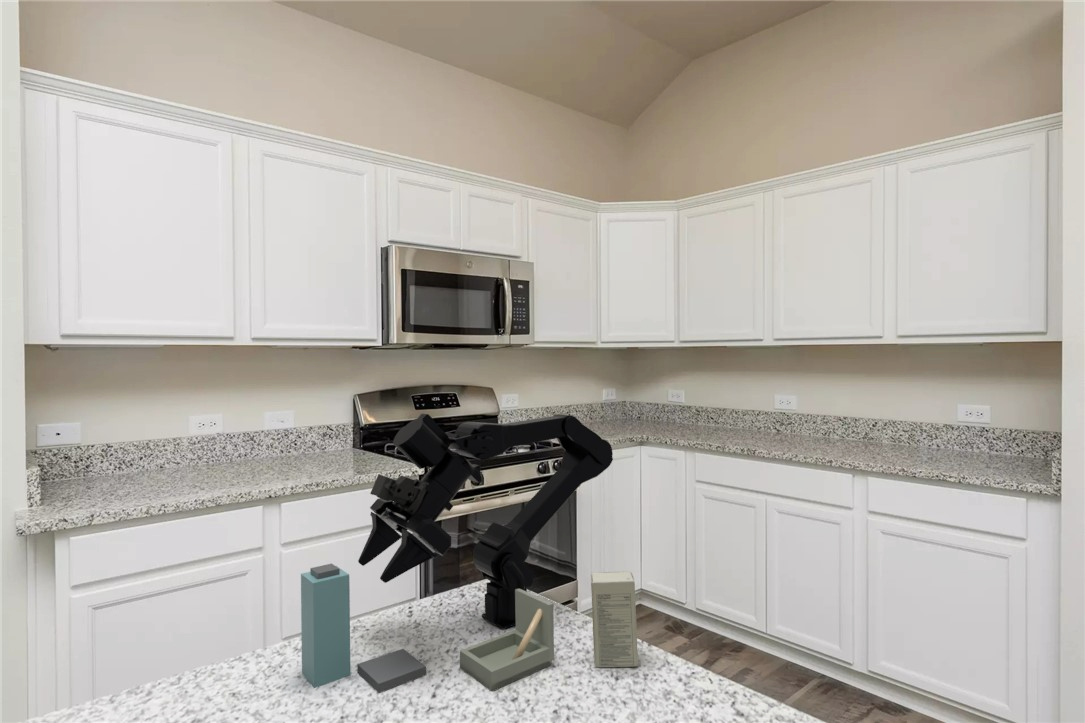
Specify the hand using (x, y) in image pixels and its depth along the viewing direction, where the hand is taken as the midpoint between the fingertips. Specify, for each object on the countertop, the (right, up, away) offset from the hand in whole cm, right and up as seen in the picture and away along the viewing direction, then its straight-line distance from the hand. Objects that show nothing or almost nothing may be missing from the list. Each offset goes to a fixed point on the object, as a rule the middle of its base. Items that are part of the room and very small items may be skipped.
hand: (370, 572), depth 87 cm
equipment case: (+20, -13, -3) cm, 24 cm away
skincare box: (+36, -13, -1) cm, 38 cm away
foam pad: (+4, -13, -4) cm, 14 cm away
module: (-5, -13, -4) cm, 14 cm away
